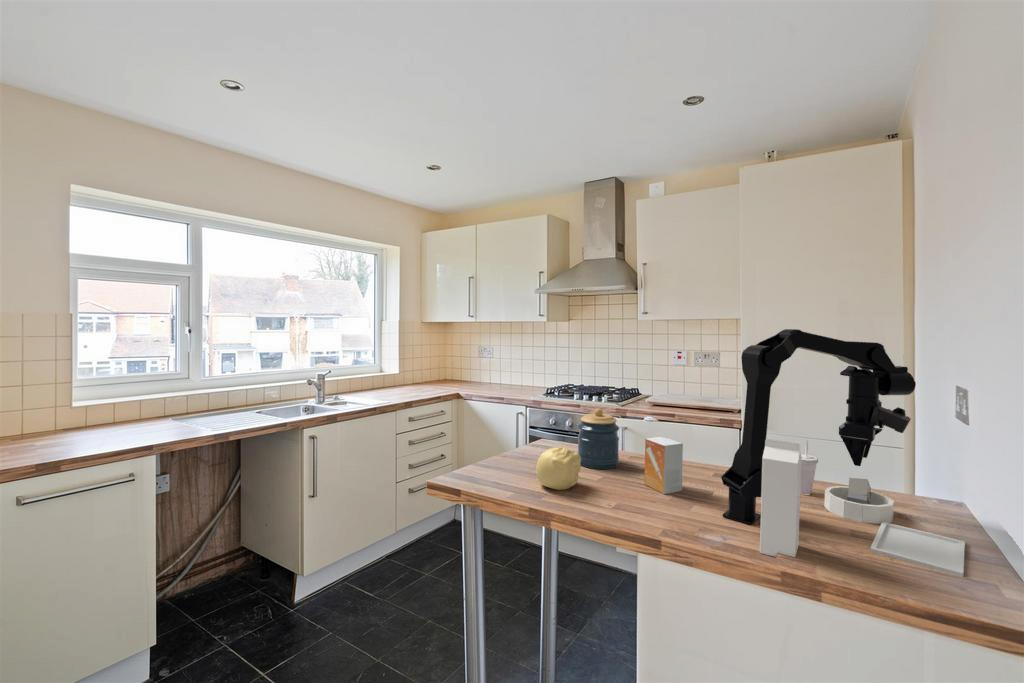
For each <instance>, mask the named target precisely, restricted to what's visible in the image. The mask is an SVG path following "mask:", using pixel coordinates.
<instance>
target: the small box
mask: <svg viewBox="0 0 1024 683" xmlns="http://www.w3.org/2000/svg"><path fill="white" fill-rule="evenodd" d="M644 440H645V441H644V443H645V444H644V448H645V449H644V476H643V477H644V481H643V483H644V485H645V486H647V487H650V488H651V489H654V490H655V491H657V492H659V493H661V494H663V495H666V494H673V493H678V492H682V491H683V454H684V453H683V452H684V451H683V450H684V445H683V443H682V442H679V441H677V440H674V439H671V438H668V437H664V436H656V437H654V436H653V437H647V438H645V439H644Z"/></svg>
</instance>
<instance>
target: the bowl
mask: <svg viewBox="0 0 1024 683" xmlns="http://www.w3.org/2000/svg"><path fill="white" fill-rule="evenodd" d="M848 488H849V486H846V485H845V486H841V485H835V486H828V487H827V488H826V489H825V490H824V508H825V509H827V511H829V513H831V514H833V515H836V516H838V517H841V518H844V519H846V520H851V521H855V522H860V523H865V524H873V525H874V524H876V525H881V523H882V522H886V523H891V524H892V522H893V519H894V513H895V512H894V508H895V507H894V506H895V501H894V500H893V499H891V498H890V497H889V496H887V495H885V494H881V493H879V492H876V491H873V490H871V501H870V504H860V503H856V502H851V501H847V496H848Z"/></svg>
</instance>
